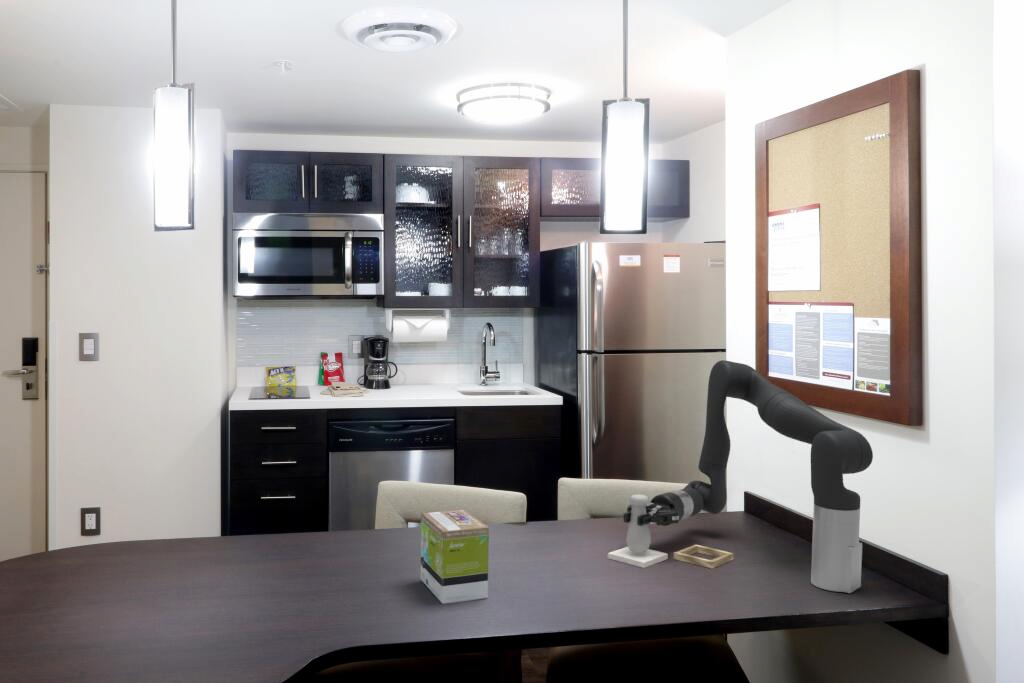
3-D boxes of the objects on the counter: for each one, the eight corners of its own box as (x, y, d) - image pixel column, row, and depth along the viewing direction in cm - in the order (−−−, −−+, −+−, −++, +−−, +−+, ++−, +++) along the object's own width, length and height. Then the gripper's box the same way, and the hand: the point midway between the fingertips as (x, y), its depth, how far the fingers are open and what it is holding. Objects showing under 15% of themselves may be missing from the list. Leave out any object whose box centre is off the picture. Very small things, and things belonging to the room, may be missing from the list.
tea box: (418, 581, 171) (419, 511, 171) (463, 576, 175) (465, 507, 175) (441, 605, 157) (442, 529, 157) (489, 599, 161) (491, 525, 161)
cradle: (733, 559, 191) (733, 553, 191) (712, 568, 184) (712, 562, 184) (695, 550, 198) (695, 544, 198) (673, 559, 191) (673, 552, 191)
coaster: (667, 558, 191) (667, 553, 191) (643, 568, 184) (643, 562, 183) (632, 549, 198) (632, 544, 198) (607, 558, 190) (607, 553, 190)
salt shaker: (650, 547, 193) (651, 493, 193) (652, 554, 187) (653, 498, 187) (625, 546, 194) (626, 492, 193) (626, 553, 188) (627, 497, 188)
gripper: (648, 487, 205) (607, 498, 193) (697, 497, 196) (658, 509, 183) (647, 517, 206) (606, 529, 193) (696, 527, 196) (657, 542, 183)
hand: (632, 519), depth 188 cm, fingers open, 3 cm apart
